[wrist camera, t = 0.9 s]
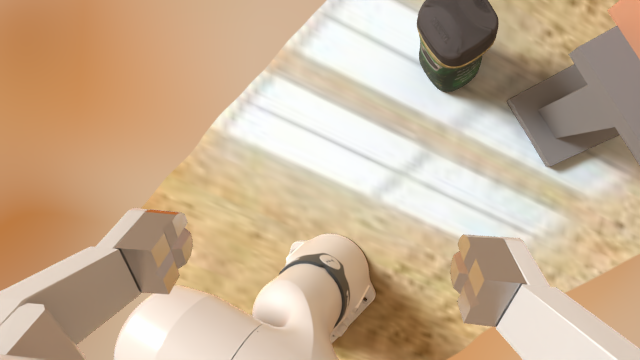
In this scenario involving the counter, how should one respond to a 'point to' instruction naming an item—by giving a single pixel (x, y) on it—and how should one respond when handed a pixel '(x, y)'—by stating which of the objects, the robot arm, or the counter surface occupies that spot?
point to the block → (628, 21)
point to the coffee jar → (454, 39)
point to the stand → (585, 101)
